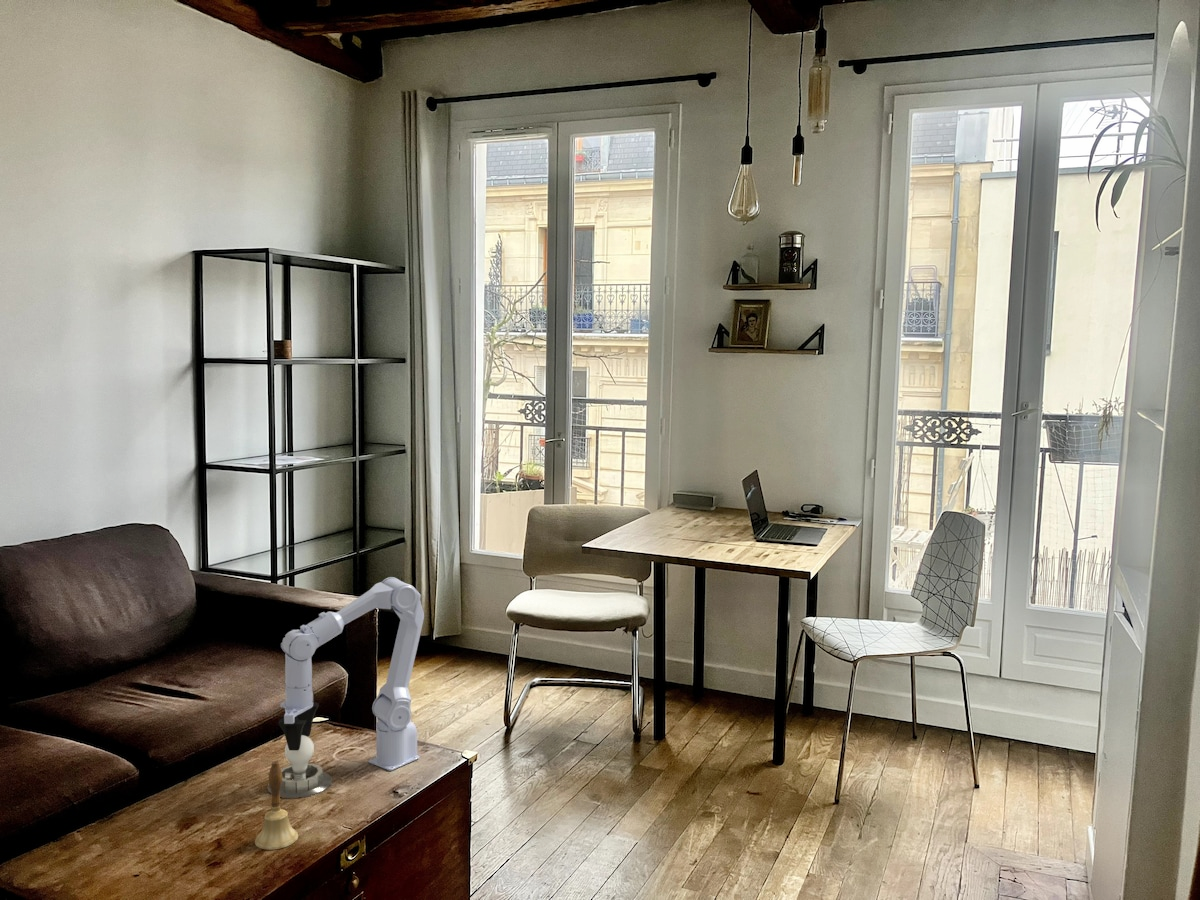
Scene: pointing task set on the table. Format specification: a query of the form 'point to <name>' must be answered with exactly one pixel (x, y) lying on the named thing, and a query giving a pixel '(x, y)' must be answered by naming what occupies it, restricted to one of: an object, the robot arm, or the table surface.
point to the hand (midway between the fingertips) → (299, 742)
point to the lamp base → (322, 787)
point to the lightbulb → (300, 757)
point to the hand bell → (276, 817)
